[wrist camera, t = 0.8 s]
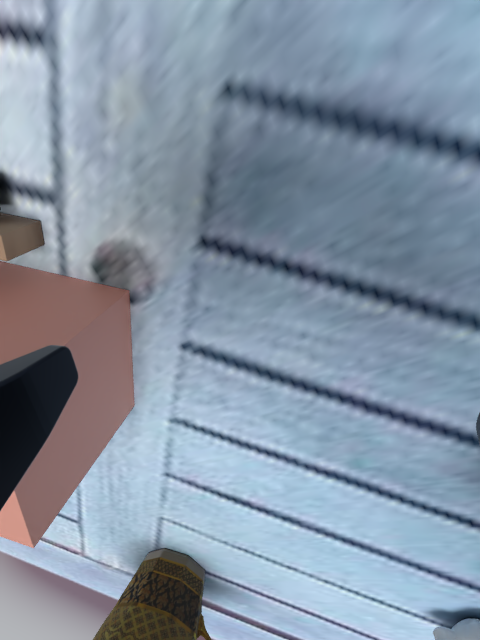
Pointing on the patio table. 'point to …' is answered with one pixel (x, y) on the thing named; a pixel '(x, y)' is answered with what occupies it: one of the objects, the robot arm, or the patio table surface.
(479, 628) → the grey lobed figurine
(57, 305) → the pink toy brick
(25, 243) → the chassis bay
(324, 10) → the patio table surface
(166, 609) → the ceramic cup
